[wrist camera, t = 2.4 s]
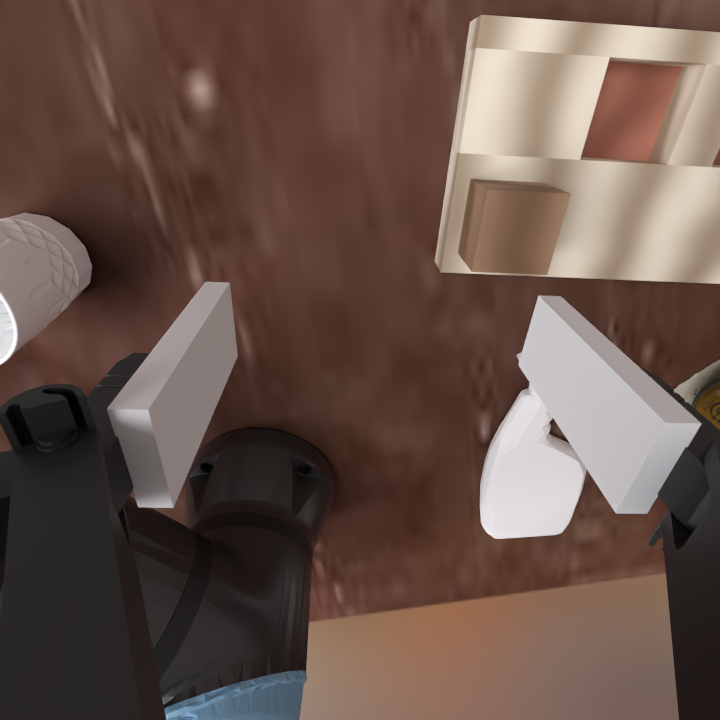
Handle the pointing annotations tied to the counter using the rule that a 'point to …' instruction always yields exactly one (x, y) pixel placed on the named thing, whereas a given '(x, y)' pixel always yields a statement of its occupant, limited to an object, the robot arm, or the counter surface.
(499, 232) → the walnut block
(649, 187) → the trap deck
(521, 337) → the counter surface
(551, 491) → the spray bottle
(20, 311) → the white cup
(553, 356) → the robot arm
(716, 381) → the condiment
